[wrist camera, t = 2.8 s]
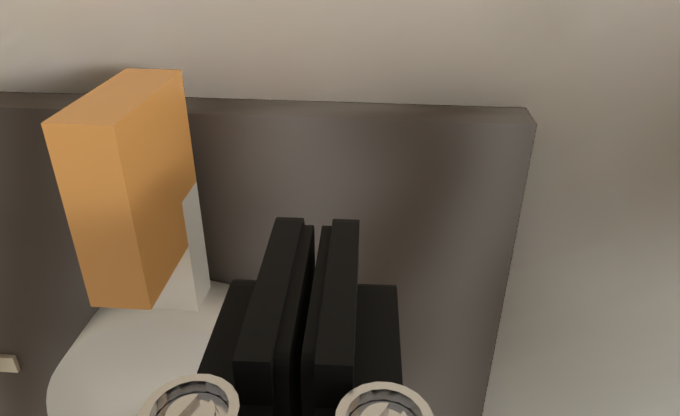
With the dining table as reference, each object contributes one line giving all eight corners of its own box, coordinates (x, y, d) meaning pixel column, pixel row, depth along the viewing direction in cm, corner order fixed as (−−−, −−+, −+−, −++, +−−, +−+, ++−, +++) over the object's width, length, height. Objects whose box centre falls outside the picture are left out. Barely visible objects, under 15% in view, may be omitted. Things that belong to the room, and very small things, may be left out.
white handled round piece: (332, 470, 24) (320, 587, 20) (109, 453, 25) (53, 563, 21) (331, 71, 16) (310, 132, 11) (-9, 61, 16) (-144, 116, 12)
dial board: (526, 107, 17) (538, 126, 16) (452, 522, 28) (456, 557, 27) (-131, 87, 19) (-174, 103, 17) (38, 489, 30) (19, 520, 28)
